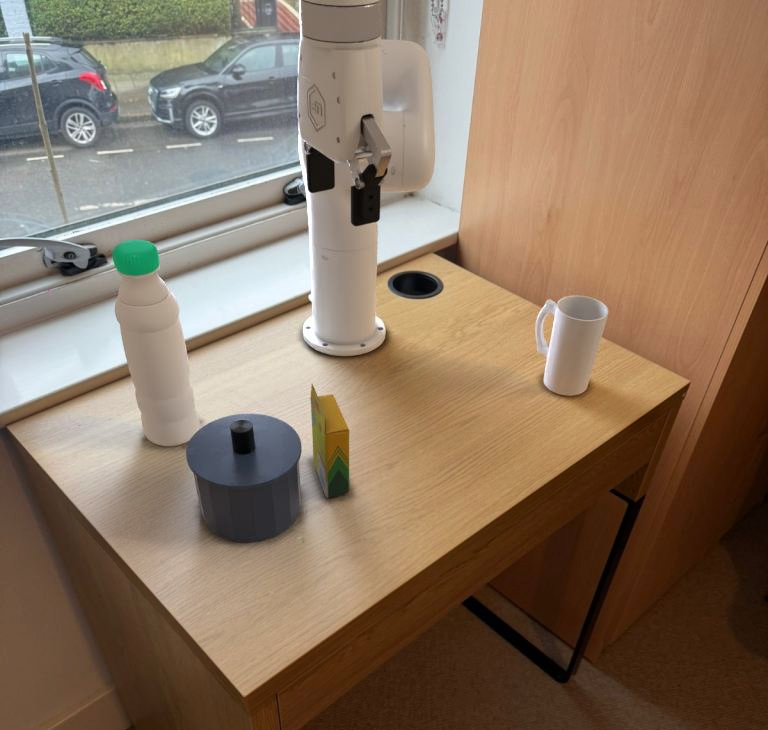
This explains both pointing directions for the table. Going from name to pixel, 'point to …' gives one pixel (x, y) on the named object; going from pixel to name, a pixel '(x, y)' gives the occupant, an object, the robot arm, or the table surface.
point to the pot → (251, 508)
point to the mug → (571, 342)
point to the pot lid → (243, 451)
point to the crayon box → (330, 444)
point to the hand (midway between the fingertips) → (342, 206)
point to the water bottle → (154, 346)
